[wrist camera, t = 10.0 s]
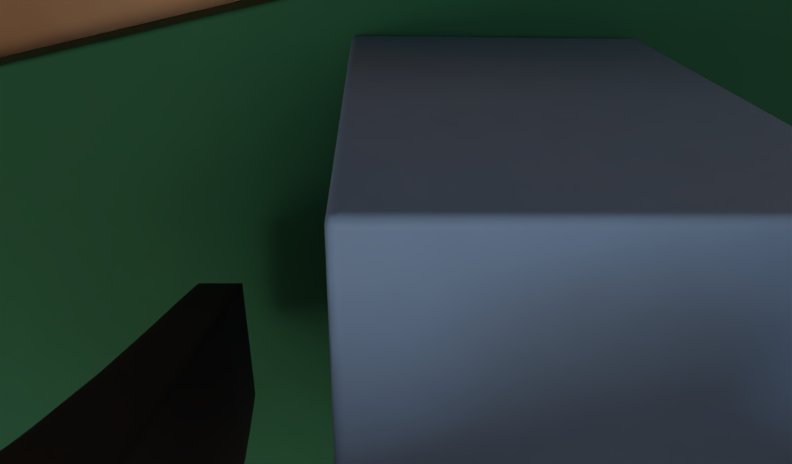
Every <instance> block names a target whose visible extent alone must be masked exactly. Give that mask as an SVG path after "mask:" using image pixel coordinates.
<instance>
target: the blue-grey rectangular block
mask: <svg viewBox="0 0 792 464" xmlns="http://www.w3.org/2000/svg"><path fill="white" fill-rule="evenodd" d="M324 230H325V254H326V277H327V301H328V325H329V348H330V372H331V396H332V420H333V443H334V464H792V126H790V125H789V124H787V123H785V122H783V121H781V120H780V119H778V118H776V117H774V116H772V115H771V114H769V113H767V112H765V111H763V110H762V109H760V108H758V107H756V106H754V105H753V104H751V103H749V102H747V101H746V100H744V99H742V98H740V97H738V96H737V95H735V94H733V93H731V92H729V91H728V90H726V89H724V88H722V87H720V86H719V85H717V84H715V83H713V82H712V81H710V80H708V79H706V78H704V77H703V76H701V75H699V74H697V73H695V72H694V71H692V70H690V69H688V68H686V67H685V66H683V65H681V64H679V63H678V62H676V61H674V60H672V59H670V58H669V57H667V56H665V55H663V54H661V53H660V52H658V51H656V50H654V49H652V48H651V47H649V46H647V45H645V44H644V43H642V42H640V41H638V40H636V39H600V38H514V37H427V36H356V37H354V38H353V39H352V42H351V47H350V54H349V60H348V67H347V74H346V81H345V87H344V94H343V101H342V108H341V115H340V121H339V128H338V135H337V142H336V148H335V155H334V162H333V169H332V175H331V182H330V189H329V196H328V202H327V209H326V216H325V223H324Z"/></svg>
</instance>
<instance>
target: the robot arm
mask: <svg viewBox="0 0 792 464" xmlns="http://www.w3.org/2000/svg"><path fill="white" fill-rule="evenodd" d="M254 401H255V386H254V377H253V369H252V360H251V352H250V344H249V335H248V327H247V318H246V310H245V302H244V293H243V285H242V283H198V284H197V285H196V286H195V287H194V288H193V289H191V290H190V291H189V292H188V293H187V294H186V295H185V296H184V297H183V298H181V299H180V300H179V301H178V302H177V303H176V304H175V305H174V306H173V307H172V308H171V309H169V310H168V311H167V312H166V313H165V314H164V315H163V316H162V317H161V318H160V319H159V320H158V321H156V322H155V323H154V324H153V325H152V326H151V327H150V328H149V329H148V330H147V331H146V332H144V333H143V334H142V335H141V336H140V337H139V338H138V339H137V340H136V341H135V342H133V343H132V344H131V345H130V346H129V347H128V348H127V349H126V350H124V351H123V352H122V353H121V354H120V355H119V356H118V357H117V358H115V359H114V360H113V361H112V362H111V363H110V364H109V365H108V366H106V367H105V368H104V369H103V370H102V371H101V372H100V373H98V374H97V375H96V376H95V377H93V378H92V379H91V380H90V381H89V382H87V383H86V384H85V385H84V386H82V387H81V388H80V389H79V390H77V391H76V392H75V393H74V394H72V395H71V396H70V397H69V398H67V399H66V400H65V401H64V402H63V403H61V404H60V405H59V406H58V407H56V408H55V409H54V410H53V411H51V412H50V413H49V414H48V415H46V416H45V417H44V418H43V419H42V420H40V421H39V422H38V423H37V424H35V425H34V426H33V427H32V428H30V429H29V430H28V431H26V432H25V433H24V434H22V435H21V436H20V437H18V438H17V439H16V440H14V441H13V442H12V443H10V444H9V445H8V446H6V447H5V448H4V449H2V450H1V451H0V464H244V463H245V459H246V452H247V446H248V440H249V434H250V428H251V421H252V414H253V407H254Z"/></svg>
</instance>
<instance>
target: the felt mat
mask: <svg viewBox="0 0 792 464" xmlns="http://www.w3.org/2000/svg"><path fill="white" fill-rule="evenodd" d="M356 36H427V37H514V38H600V39H636V40H638V41H640V42H642V43H644V44H645V45H647V46H649V47H651V48H652V49H654V50H656V51H658V52H660V53H661V54H663V55H665V56H667V57H669V58H670V59H672V60H674V61H676V62H678V63H679V64H681V65H683V66H685V67H686V68H688V69H690V70H692V71H694V72H695V73H697V74H699V75H701V76H703V77H704V78H706V79H708V80H710V81H712V82H713V83H715V84H717V85H719V86H720V87H722V88H724V89H726V90H728V91H729V92H731V93H733V94H735V95H737V96H738V97H740V98H742V99H744V100H746V101H747V102H749V103H751V104H753V105H754V106H756V107H758V108H760V109H762V110H763V111H765V112H767V113H769V114H771V115H772V116H774V117H776V118H778V119H780V120H781V121H783V122H785V123H787V124H789V125H790V126H792V0H243V1H239V2H234V3H230V4H226V5H222V6H217V7H213V8H209V9H205V10H201V11H196V12H192V13H188V14H184V15H179V16H175V17H171V18H167V19H163V20H158V21H154V22H150V23H146V24H141V25H137V26H133V27H129V28H124V29H120V30H116V31H112V32H108V33H103V34H99V35H95V36H91V37H86V38H82V39H78V40H74V41H69V42H65V43H61V44H57V45H53V46H48V47H44V48H40V49H36V50H31V51H27V52H23V53H19V54H15V55H10V56H6V57H2V58H0V451H1V450H2V449H4V448H5V447H6V446H8V445H9V444H10V443H12V442H13V441H14V440H16V439H17V438H18V437H20V436H21V435H22V434H24V433H25V432H26V431H28V430H29V429H30V428H32V427H33V426H34V425H35V424H37V423H38V422H39V421H40V420H42V419H43V418H44V417H45V416H46V415H48V414H49V413H50V412H51V411H53V410H54V409H55V408H56V407H58V406H59V405H60V404H61V403H63V402H64V401H65V400H66V399H67V398H69V397H70V396H71V395H72V394H74V393H75V392H76V391H77V390H79V389H80V388H81V387H82V386H84V385H85V384H86V383H87V382H89V381H90V380H91V379H92V378H93V377H95V376H96V375H97V374H98V373H100V372H101V371H102V370H103V369H104V368H105V367H106V366H108V365H109V364H110V363H111V362H112V361H113V360H114V359H115V358H117V357H118V356H119V355H120V354H121V353H122V352H123V351H124V350H126V349H127V348H128V347H129V346H130V345H131V344H132V343H133V342H135V341H136V340H137V339H138V338H139V337H140V336H141V335H142V334H143V333H144V332H146V331H147V330H148V329H149V328H150V327H151V326H152V325H153V324H154V323H155V322H156V321H158V320H159V319H160V318H161V317H162V316H163V315H164V314H165V313H166V312H167V311H168V310H169V309H171V308H172V307H173V306H174V305H175V304H176V303H177V302H178V301H179V300H180V299H181V298H183V297H184V296H185V295H186V294H187V293H188V292H189V291H190V290H191V289H193V288H194V287H195V286H196V285H197V284H198V283H242V285H243V293H244V302H245V310H246V318H247V327H248V335H249V344H250V352H251V360H252V369H253V377H254V386H255V401H254V407H253V414H252V421H251V428H250V434H249V440H248V446H247V452H246V459H245V463H244V464H334V443H333V420H332V396H331V372H330V348H329V325H328V301H327V277H326V254H325V230H324V223H325V216H326V209H327V202H328V196H329V189H330V182H331V175H332V169H333V162H334V155H335V148H336V142H337V135H338V128H339V121H340V115H341V108H342V101H343V94H344V87H345V81H346V74H347V67H348V60H349V54H350V47H351V42H352V39H353V38H354V37H356Z"/></svg>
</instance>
